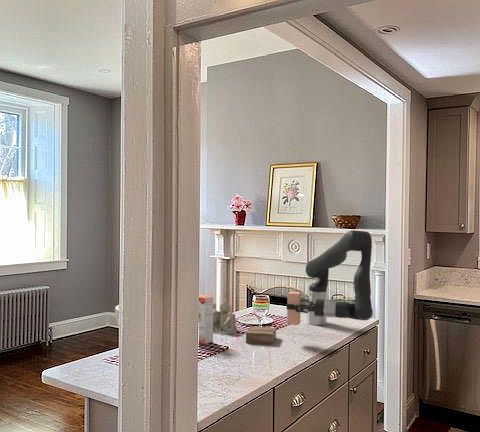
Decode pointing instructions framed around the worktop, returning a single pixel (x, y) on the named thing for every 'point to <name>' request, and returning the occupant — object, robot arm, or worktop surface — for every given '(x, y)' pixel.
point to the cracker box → (205, 319)
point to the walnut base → (261, 335)
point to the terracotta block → (292, 315)
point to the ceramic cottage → (224, 319)
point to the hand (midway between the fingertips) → (288, 305)
